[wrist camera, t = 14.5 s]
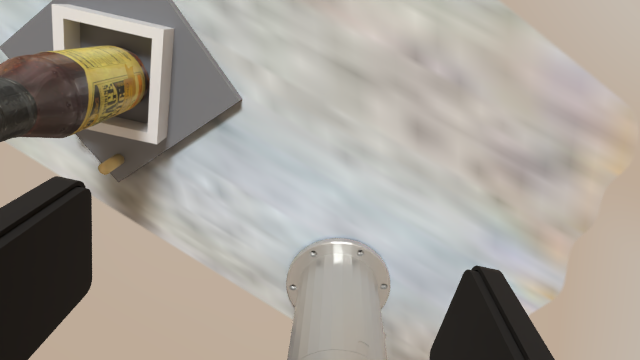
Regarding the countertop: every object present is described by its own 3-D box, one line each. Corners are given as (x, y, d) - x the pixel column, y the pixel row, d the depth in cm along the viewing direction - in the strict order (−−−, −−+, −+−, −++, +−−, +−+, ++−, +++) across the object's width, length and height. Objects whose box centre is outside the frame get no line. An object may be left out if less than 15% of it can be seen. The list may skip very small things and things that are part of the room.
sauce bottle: (128, 119, 42) (-34, 204, 24) (78, 73, 41) (-135, 127, 22) (167, 76, 40) (24, 132, 22) (117, 26, 39) (-83, 42, 20)
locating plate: (242, 98, 42) (232, 107, 38) (123, 178, 46) (103, 193, 42) (129, -60, 37) (105, -68, 33) (8, 46, 41) (-27, 50, 37)
